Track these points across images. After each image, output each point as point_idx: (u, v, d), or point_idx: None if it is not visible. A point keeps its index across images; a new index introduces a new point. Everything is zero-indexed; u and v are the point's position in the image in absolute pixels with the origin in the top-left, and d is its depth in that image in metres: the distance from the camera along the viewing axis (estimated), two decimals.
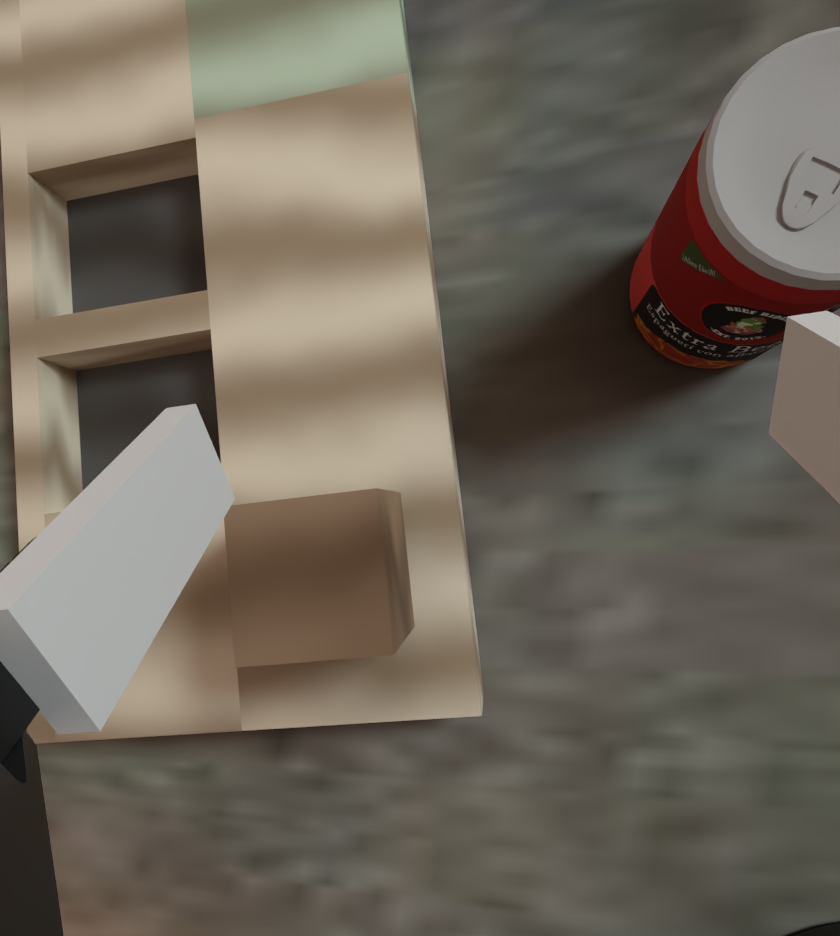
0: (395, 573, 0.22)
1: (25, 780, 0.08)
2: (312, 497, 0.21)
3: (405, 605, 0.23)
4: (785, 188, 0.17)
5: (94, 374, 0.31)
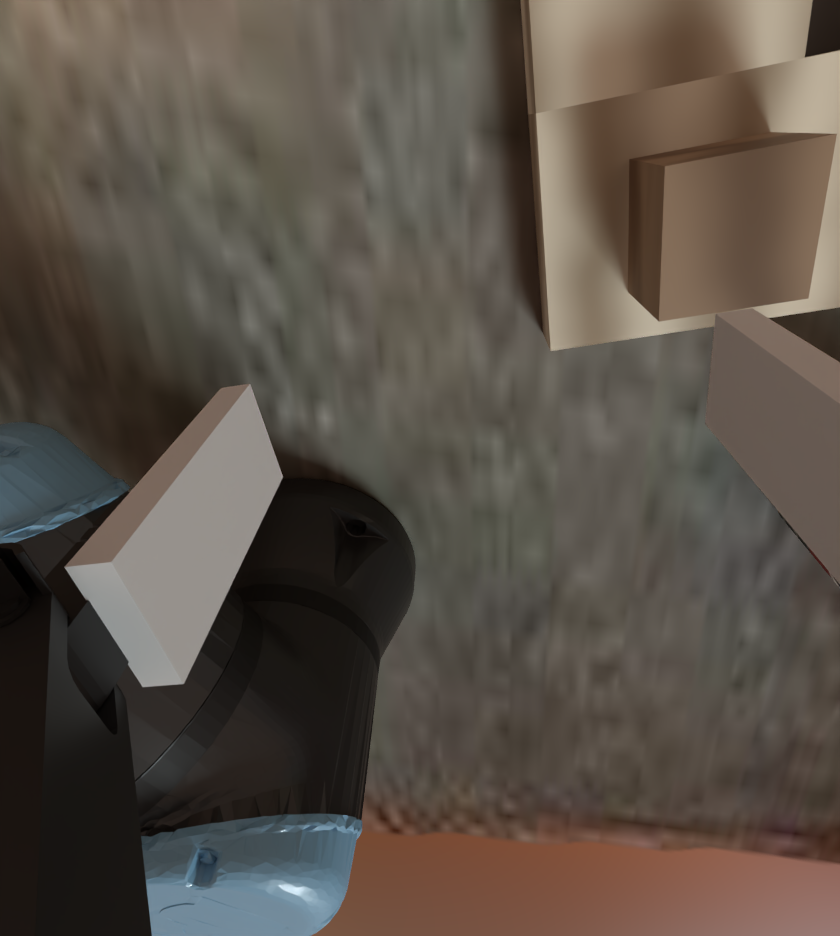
0: None
1: (116, 732, 0.08)
2: (817, 236, 0.22)
3: None
4: None
5: None
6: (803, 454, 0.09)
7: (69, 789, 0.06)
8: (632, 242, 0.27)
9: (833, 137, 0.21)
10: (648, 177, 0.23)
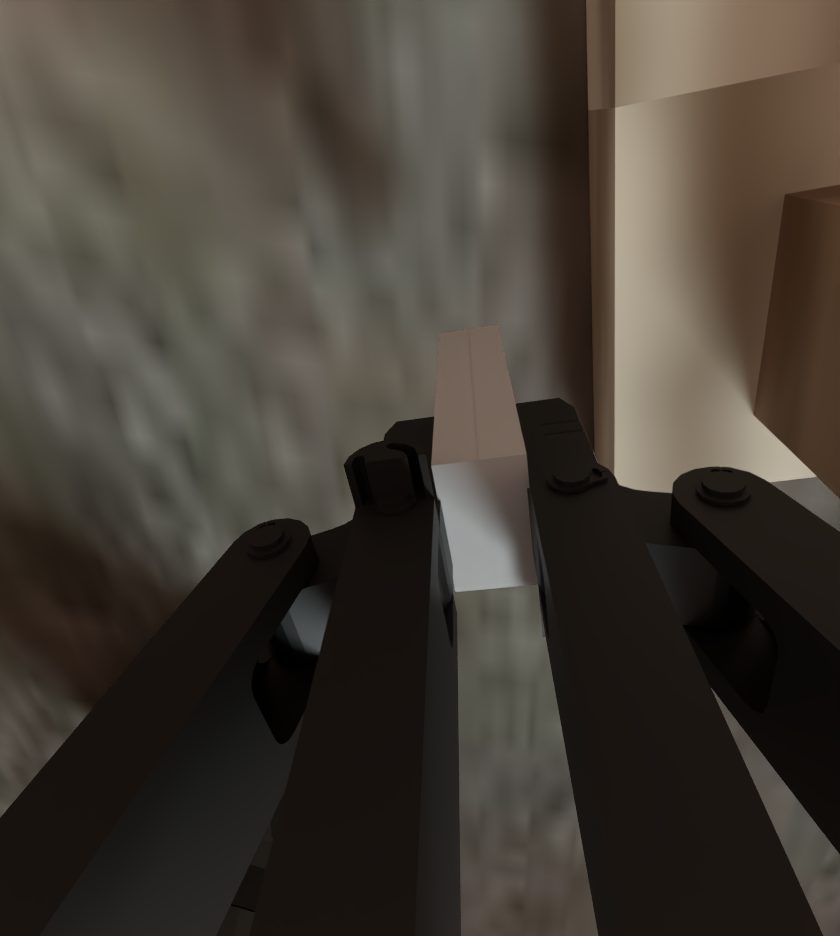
0: None
1: (452, 645, 0.08)
2: None
3: None
4: None
5: None
6: None
7: (434, 699, 0.06)
8: (778, 341, 0.15)
9: None
10: None
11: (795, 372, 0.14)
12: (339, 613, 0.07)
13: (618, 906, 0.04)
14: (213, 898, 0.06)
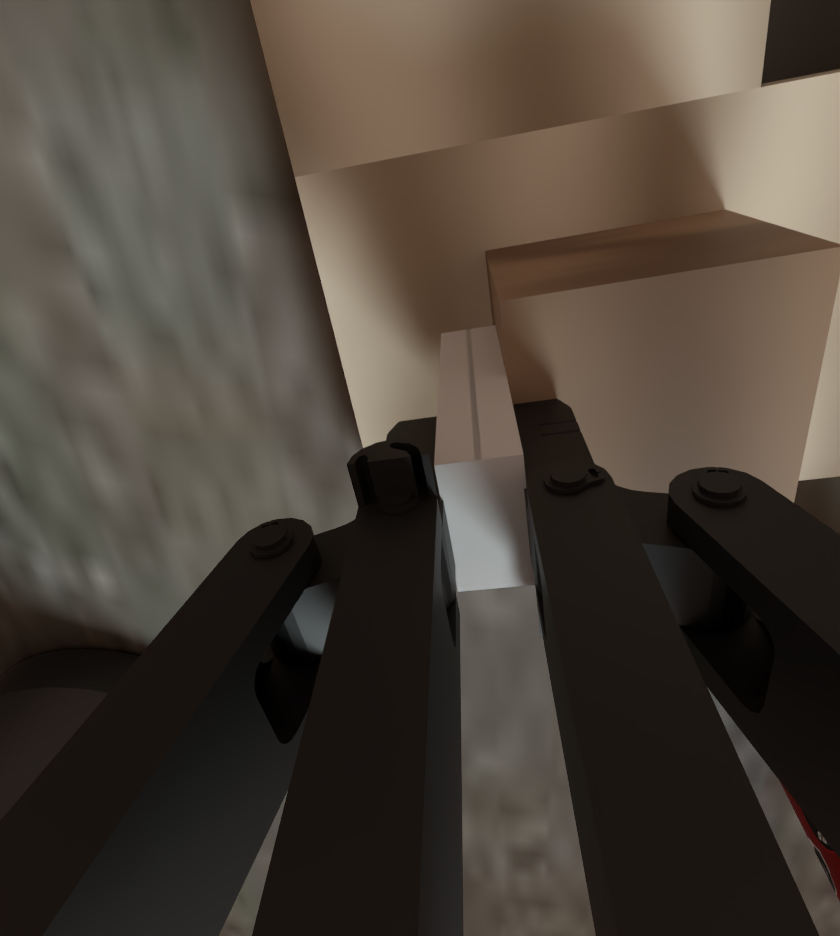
0: None
1: (455, 645, 0.08)
2: (805, 426, 0.12)
3: None
4: None
5: None
6: None
7: (437, 699, 0.06)
8: None
9: (839, 251, 0.10)
10: (495, 301, 0.13)
11: None
12: (342, 613, 0.07)
13: (615, 904, 0.04)
14: (216, 898, 0.06)
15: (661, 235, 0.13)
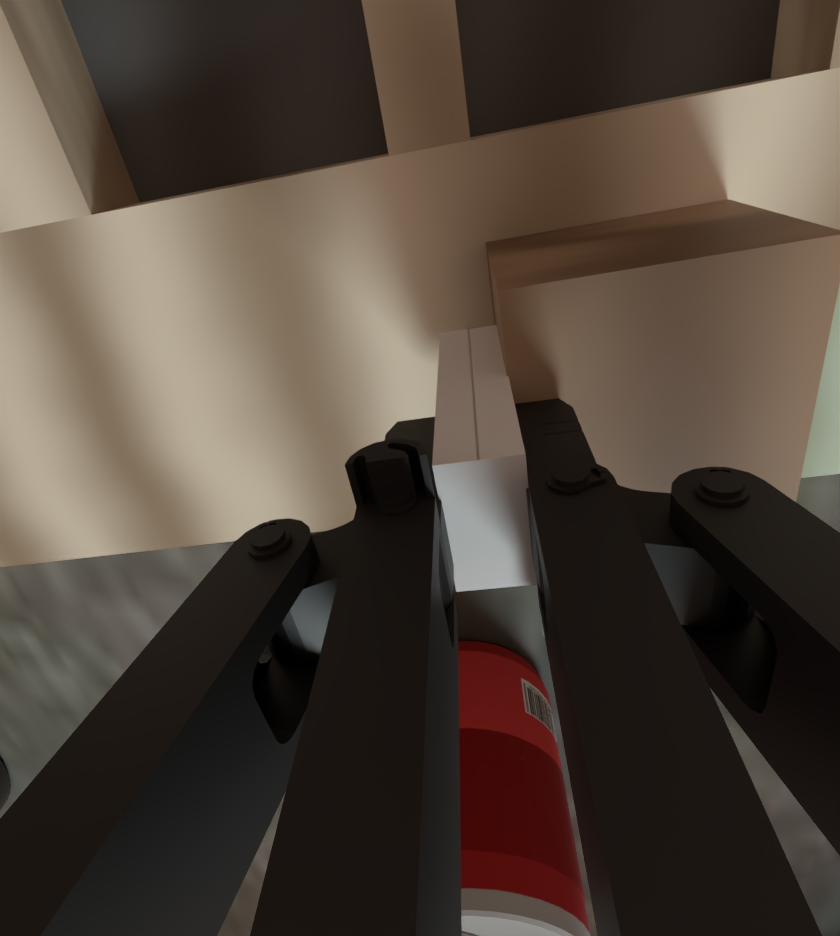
0: None
1: (453, 645, 0.08)
2: (809, 417, 0.11)
3: None
4: None
5: None
6: None
7: (435, 698, 0.06)
8: None
9: None
10: (494, 293, 0.12)
11: None
12: (340, 613, 0.07)
13: (618, 905, 0.04)
14: (214, 899, 0.06)
15: (663, 225, 0.13)
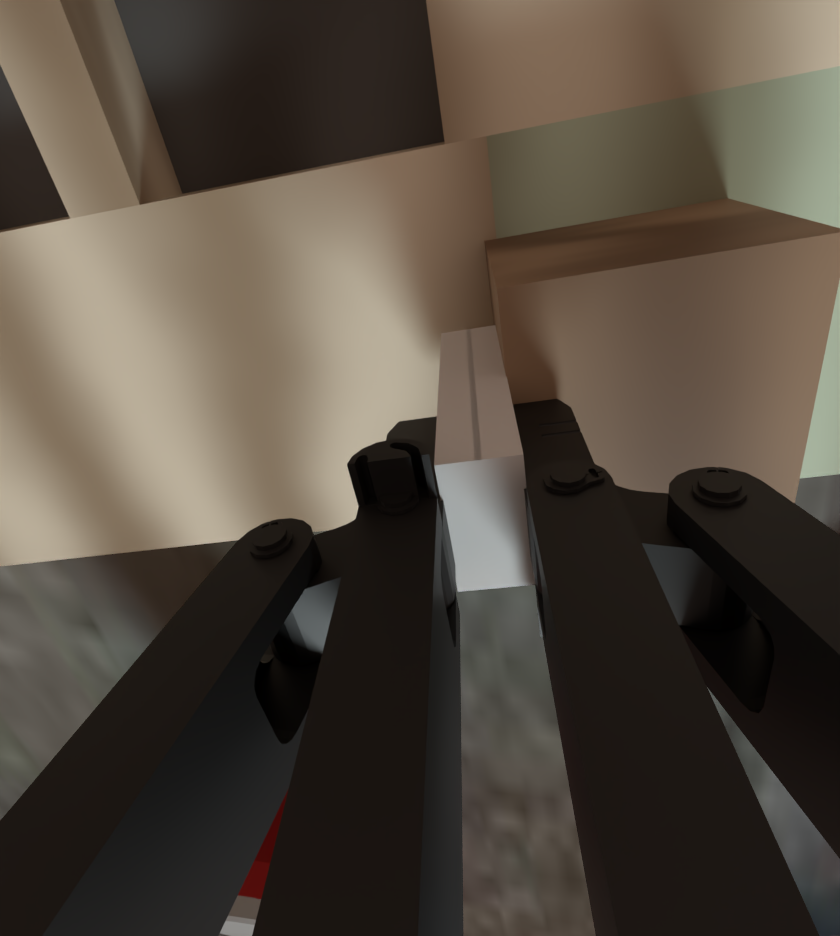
0: None
1: (455, 645, 0.08)
2: (808, 415, 0.11)
3: None
4: None
5: None
6: None
7: (437, 699, 0.06)
8: None
9: None
10: (493, 290, 0.12)
11: None
12: (342, 613, 0.07)
13: (615, 906, 0.04)
14: (216, 898, 0.06)
15: (662, 223, 0.13)
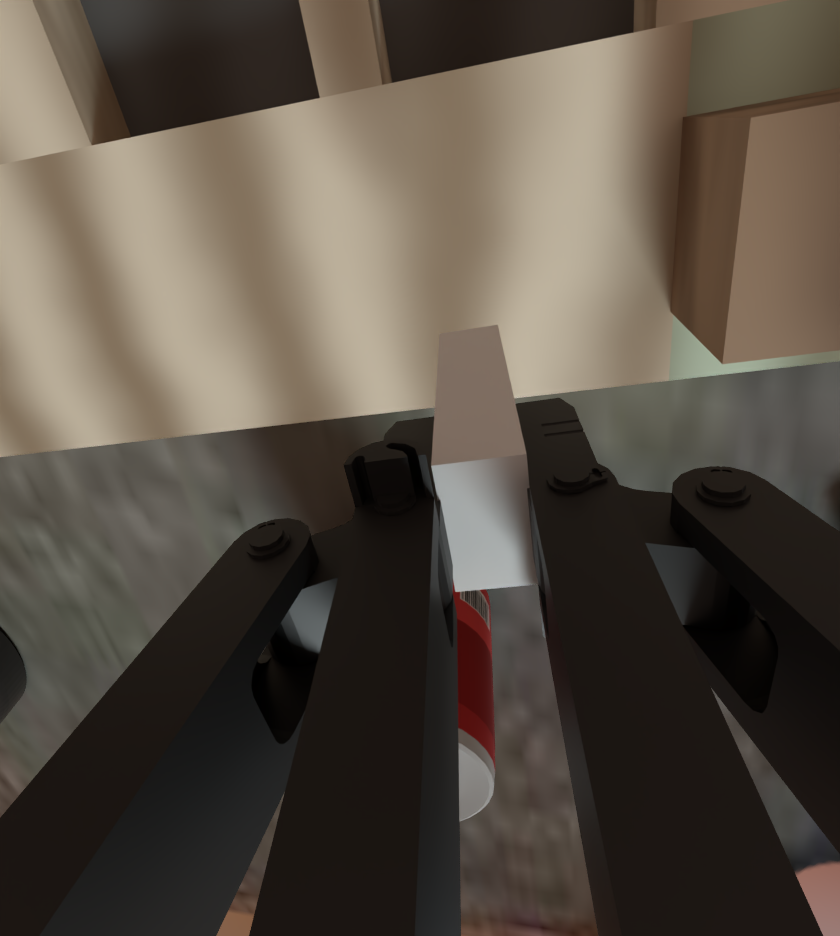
0: None
1: (452, 645, 0.08)
2: None
3: None
4: None
5: None
6: None
7: (434, 698, 0.06)
8: (681, 241, 0.18)
9: None
10: (716, 141, 0.15)
11: (691, 263, 0.18)
12: (339, 613, 0.07)
13: (618, 905, 0.04)
14: (213, 899, 0.06)
15: None
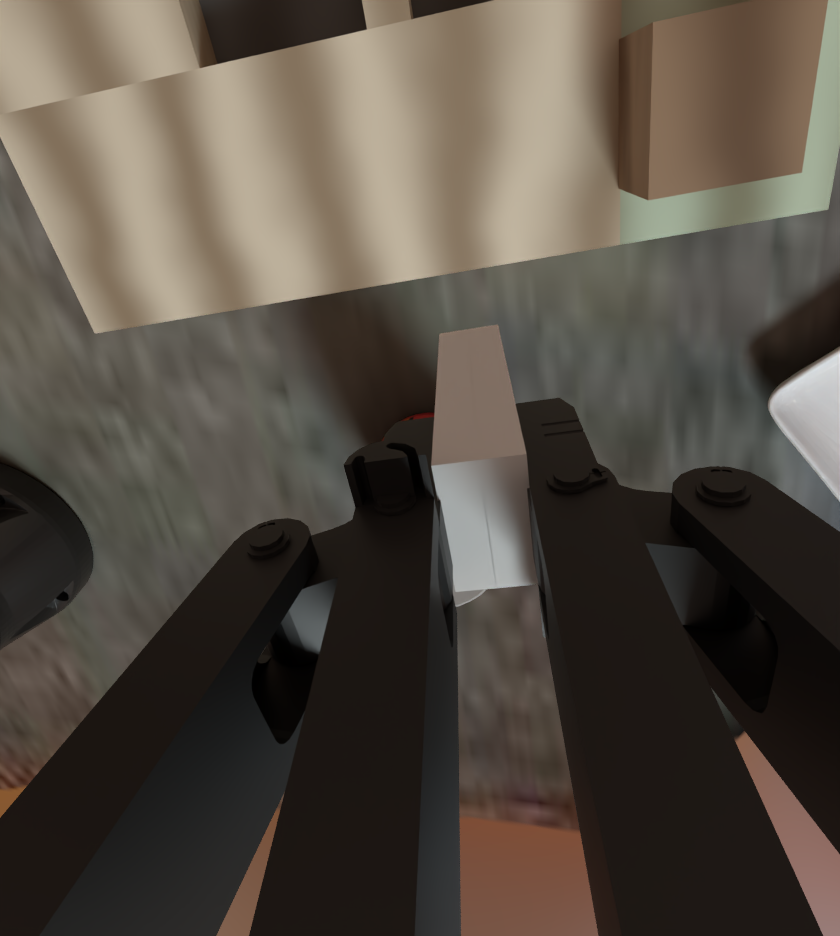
0: None
1: (452, 645, 0.08)
2: (810, 101, 0.22)
3: None
4: None
5: None
6: None
7: (435, 699, 0.06)
8: (622, 130, 0.26)
9: None
10: (637, 46, 0.23)
11: (628, 142, 0.25)
12: (339, 613, 0.07)
13: (618, 906, 0.04)
14: (213, 897, 0.06)
15: None
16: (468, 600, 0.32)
